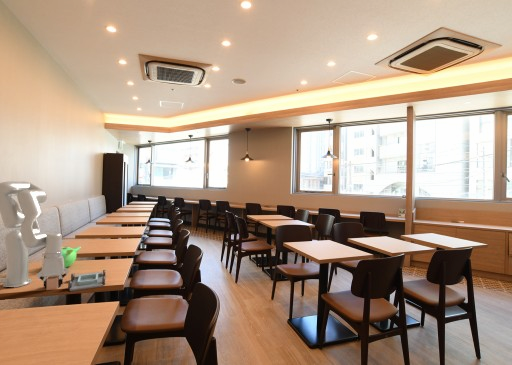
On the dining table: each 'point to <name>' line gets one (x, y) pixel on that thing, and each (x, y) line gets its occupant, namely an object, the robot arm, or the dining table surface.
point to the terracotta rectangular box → (53, 282)
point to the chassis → (86, 281)
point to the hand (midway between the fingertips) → (53, 286)
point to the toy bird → (69, 255)
